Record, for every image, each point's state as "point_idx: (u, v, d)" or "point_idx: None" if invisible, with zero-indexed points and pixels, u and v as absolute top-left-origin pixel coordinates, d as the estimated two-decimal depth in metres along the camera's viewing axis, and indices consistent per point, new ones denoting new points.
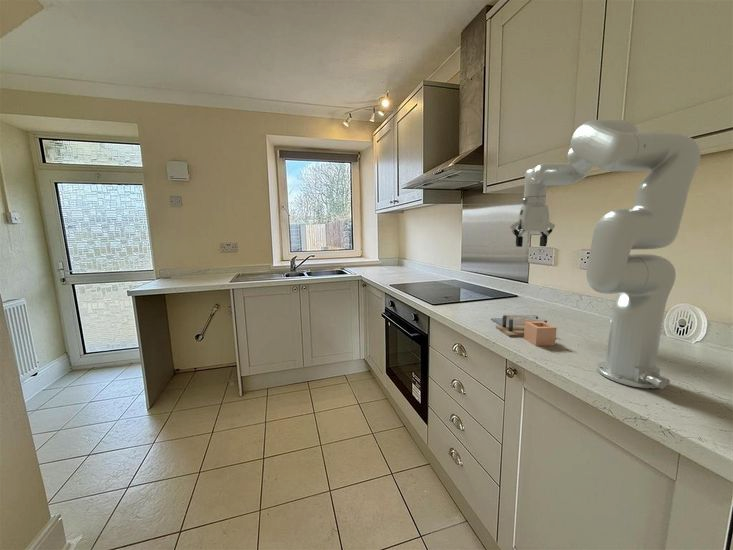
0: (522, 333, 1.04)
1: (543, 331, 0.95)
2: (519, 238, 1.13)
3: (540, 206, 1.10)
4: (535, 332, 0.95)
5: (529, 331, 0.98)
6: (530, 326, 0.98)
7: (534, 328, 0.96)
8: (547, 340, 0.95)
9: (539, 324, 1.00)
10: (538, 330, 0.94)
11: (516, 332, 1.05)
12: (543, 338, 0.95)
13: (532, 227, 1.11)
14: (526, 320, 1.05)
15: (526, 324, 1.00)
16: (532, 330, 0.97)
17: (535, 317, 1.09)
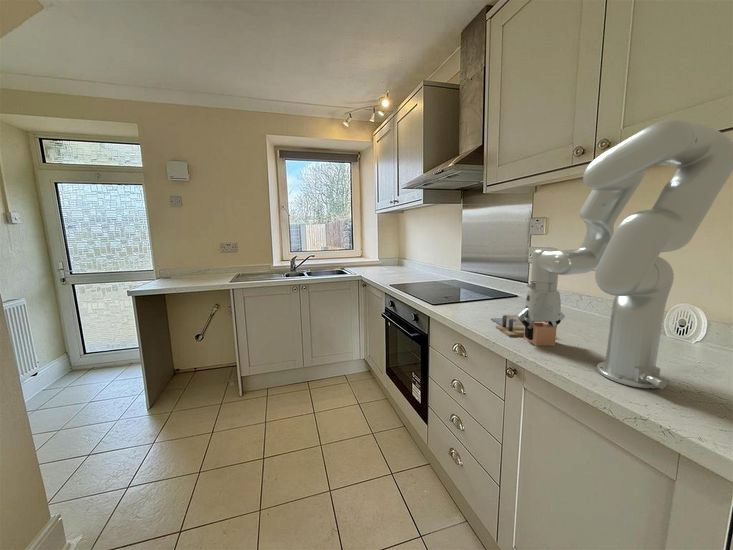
0: (522, 333, 1.04)
1: (543, 331, 0.95)
2: (529, 330, 0.97)
3: (550, 293, 0.93)
4: (535, 332, 0.95)
5: None
6: None
7: (534, 328, 0.96)
8: (547, 340, 0.95)
9: (539, 324, 1.00)
10: (538, 330, 0.94)
11: (516, 332, 1.05)
12: (543, 338, 0.95)
13: (540, 318, 0.94)
14: None
15: None
16: None
17: None
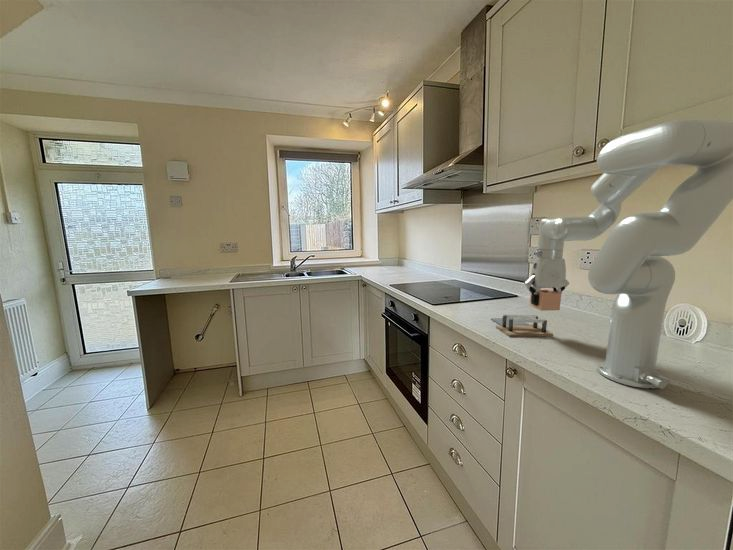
0: (522, 333, 1.04)
1: (549, 296, 0.99)
2: (535, 296, 1.02)
3: (556, 260, 0.98)
4: (541, 298, 1.00)
5: None
6: None
7: (540, 294, 1.00)
8: (552, 305, 1.00)
9: (544, 291, 1.05)
10: (544, 295, 0.99)
11: (516, 332, 1.05)
12: (549, 303, 1.00)
13: (547, 284, 0.99)
14: (526, 320, 1.05)
15: None
16: None
17: (535, 317, 1.09)
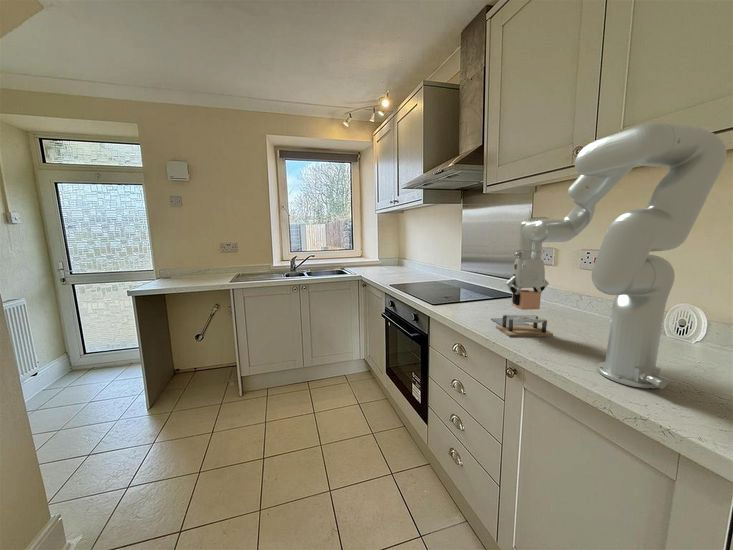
0: (522, 333, 1.04)
1: (529, 296, 1.03)
2: (516, 296, 1.06)
3: (535, 261, 1.02)
4: (521, 297, 1.04)
5: None
6: None
7: (520, 294, 1.04)
8: (532, 304, 1.04)
9: (525, 291, 1.09)
10: (524, 295, 1.03)
11: (516, 332, 1.05)
12: (529, 302, 1.04)
13: (526, 284, 1.03)
14: (526, 320, 1.05)
15: None
16: None
17: (535, 317, 1.09)
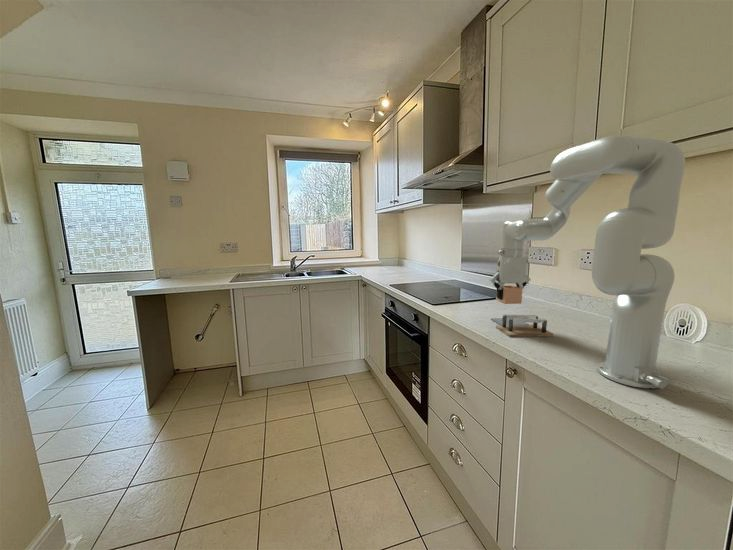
0: (522, 333, 1.04)
1: (511, 291, 1.11)
2: (500, 291, 1.13)
3: (517, 258, 1.09)
4: (504, 292, 1.11)
5: None
6: None
7: (503, 289, 1.12)
8: (514, 299, 1.11)
9: (509, 287, 1.16)
10: (507, 290, 1.10)
11: (516, 332, 1.05)
12: (511, 297, 1.11)
13: (509, 280, 1.10)
14: (526, 320, 1.05)
15: None
16: None
17: (535, 317, 1.09)
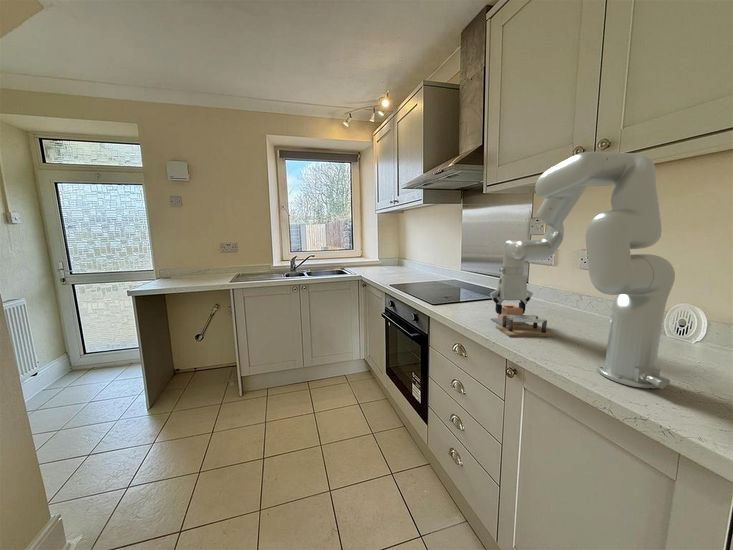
0: (522, 333, 1.04)
1: (512, 311, 1.15)
2: (498, 306, 1.17)
3: (518, 277, 1.13)
4: (505, 313, 1.15)
5: None
6: (502, 308, 1.18)
7: (505, 309, 1.16)
8: None
9: (510, 307, 1.20)
10: (508, 311, 1.15)
11: (516, 332, 1.05)
12: None
13: (510, 297, 1.14)
14: (526, 320, 1.05)
15: None
16: (503, 311, 1.17)
17: (535, 317, 1.09)
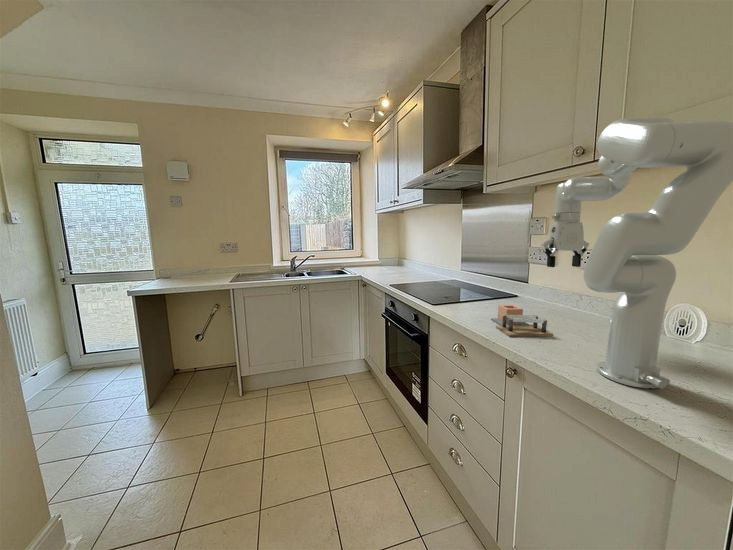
0: (522, 333, 1.04)
1: (512, 311, 1.15)
2: (551, 258, 1.03)
3: (574, 223, 1.00)
4: (505, 313, 1.15)
5: (501, 312, 1.18)
6: (502, 308, 1.18)
7: (505, 309, 1.16)
8: None
9: (510, 307, 1.20)
10: (508, 311, 1.15)
11: (516, 332, 1.05)
12: None
13: (566, 246, 1.01)
14: (526, 320, 1.05)
15: (499, 307, 1.20)
16: (503, 311, 1.17)
17: (535, 317, 1.09)
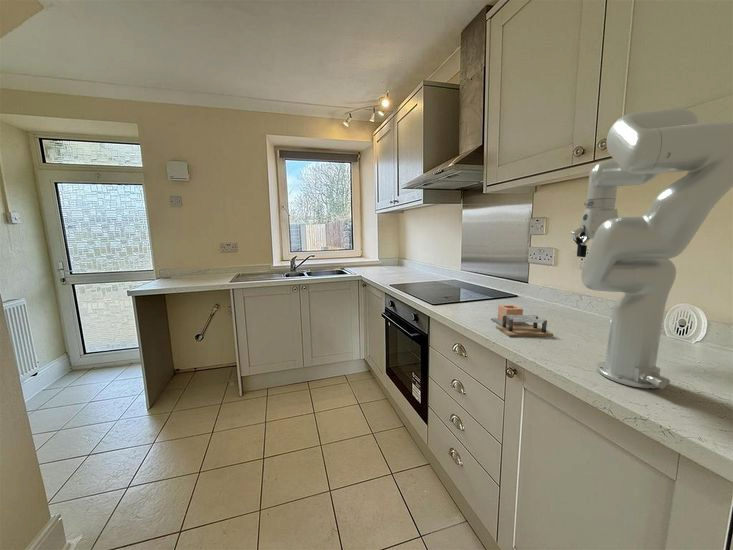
0: (522, 333, 1.04)
1: (512, 311, 1.15)
2: (582, 247, 0.98)
3: (609, 210, 0.94)
4: (505, 313, 1.15)
5: (501, 312, 1.18)
6: (502, 308, 1.18)
7: (505, 309, 1.16)
8: None
9: (510, 307, 1.20)
10: (508, 311, 1.15)
11: (516, 332, 1.05)
12: None
13: None
14: (526, 320, 1.05)
15: (499, 307, 1.20)
16: (503, 311, 1.17)
17: (535, 317, 1.09)
